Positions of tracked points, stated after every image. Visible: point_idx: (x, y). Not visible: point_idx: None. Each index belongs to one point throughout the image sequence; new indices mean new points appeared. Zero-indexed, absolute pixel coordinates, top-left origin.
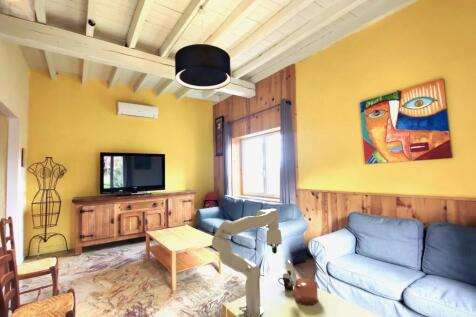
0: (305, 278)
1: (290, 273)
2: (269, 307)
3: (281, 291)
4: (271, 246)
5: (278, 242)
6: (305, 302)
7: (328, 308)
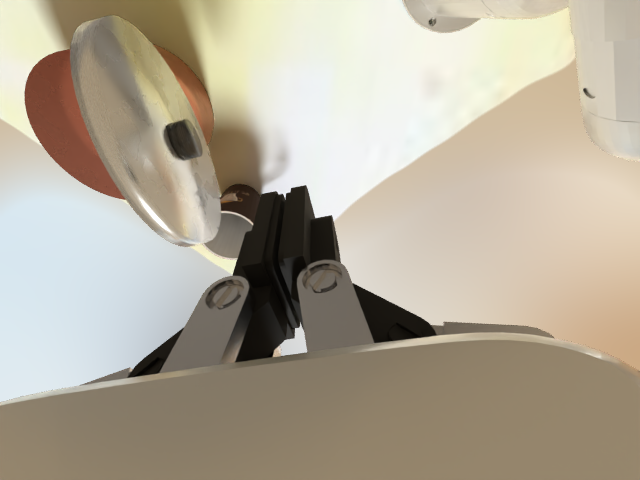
0: (121, 196)
1: (169, 124)
2: (352, 21)
3: (277, 179)
4: (374, 298)
5: (27, 436)
6: None
7: (13, 3)
